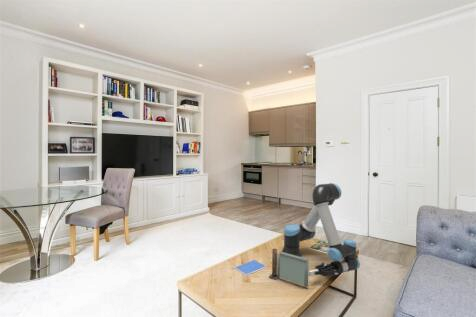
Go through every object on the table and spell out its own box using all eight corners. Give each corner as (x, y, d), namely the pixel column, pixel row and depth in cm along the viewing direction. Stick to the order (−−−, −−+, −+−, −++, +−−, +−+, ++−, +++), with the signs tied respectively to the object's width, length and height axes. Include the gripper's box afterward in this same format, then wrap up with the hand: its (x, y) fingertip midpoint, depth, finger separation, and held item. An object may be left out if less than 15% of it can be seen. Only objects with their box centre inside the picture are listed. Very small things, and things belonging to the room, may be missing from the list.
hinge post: (269, 277, 151) (269, 249, 151) (272, 274, 156) (273, 247, 155) (276, 280, 149) (276, 251, 148) (279, 276, 153) (280, 249, 152)
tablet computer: (254, 261, 176) (254, 259, 176) (266, 267, 166) (267, 265, 166) (234, 269, 163) (234, 267, 163) (246, 276, 154) (246, 274, 153)
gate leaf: (276, 276, 150) (276, 252, 149) (278, 275, 152) (278, 251, 152) (307, 287, 139) (307, 260, 138) (308, 285, 141) (309, 259, 140)
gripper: (346, 277, 147) (316, 285, 138) (331, 267, 159) (302, 274, 150) (347, 265, 147) (317, 272, 138) (331, 256, 159) (302, 262, 150)
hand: (309, 273), depth 144 cm, fingers closed
